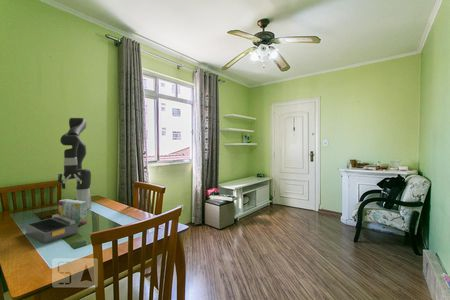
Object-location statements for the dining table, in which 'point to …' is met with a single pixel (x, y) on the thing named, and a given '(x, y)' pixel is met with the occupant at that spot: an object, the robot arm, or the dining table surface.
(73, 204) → the snack box
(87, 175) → the robot arm
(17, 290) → the dining table surface
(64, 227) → the drawer
